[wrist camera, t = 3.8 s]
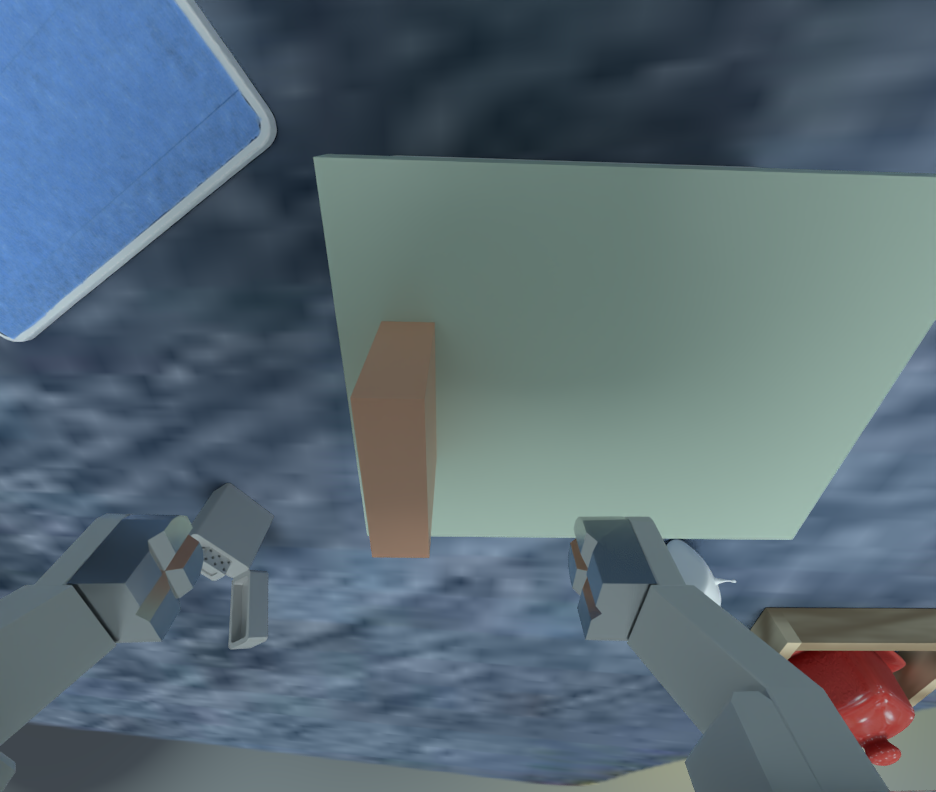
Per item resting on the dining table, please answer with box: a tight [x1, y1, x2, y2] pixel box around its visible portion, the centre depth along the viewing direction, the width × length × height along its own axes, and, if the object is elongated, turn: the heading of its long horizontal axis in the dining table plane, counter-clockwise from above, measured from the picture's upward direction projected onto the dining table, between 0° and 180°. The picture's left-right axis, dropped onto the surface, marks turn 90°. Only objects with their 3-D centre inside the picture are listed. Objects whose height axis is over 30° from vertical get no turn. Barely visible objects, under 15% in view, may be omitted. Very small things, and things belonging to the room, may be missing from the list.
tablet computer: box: [0, 0, 277, 342], centre depth 18 cm, size 19×13×1 cm, turn 121°
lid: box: [313, 154, 936, 558], centre depth 13 cm, size 13×17×6 cm
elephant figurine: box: [667, 539, 736, 606], centre depth 31 cm, size 7×8×6 cm
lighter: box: [189, 483, 274, 649], centre depth 27 cm, size 7×2×8 cm, turn 34°
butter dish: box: [788, 651, 915, 766], centre depth 39 cm, size 12×12×8 cm
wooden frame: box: [750, 608, 936, 707], centre depth 42 cm, size 18×17×3 cm
